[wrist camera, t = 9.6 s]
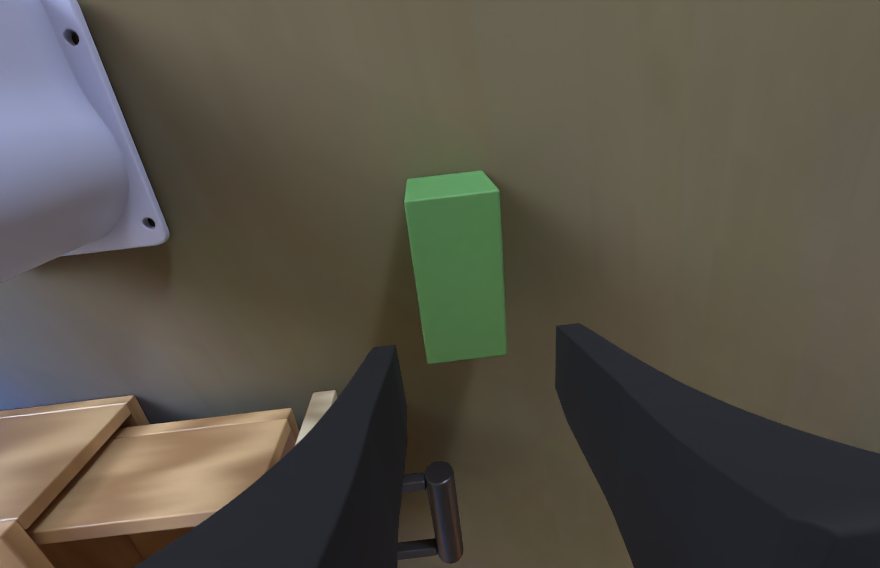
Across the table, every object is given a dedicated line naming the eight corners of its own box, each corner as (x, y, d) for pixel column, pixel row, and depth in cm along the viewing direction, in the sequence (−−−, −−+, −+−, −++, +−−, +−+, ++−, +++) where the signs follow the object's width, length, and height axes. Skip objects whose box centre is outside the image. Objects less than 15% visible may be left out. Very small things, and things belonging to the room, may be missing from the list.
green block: (406, 178, 18) (403, 200, 14) (482, 169, 18) (500, 189, 14) (425, 316, 21) (427, 365, 17) (491, 308, 21) (507, 355, 17)
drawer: (443, 377, 22) (452, 475, 16) (461, 523, 27) (473, 637, 21) (64, 421, 22) (-60, 536, 16) (152, 559, 27) (81, 684, 21)
